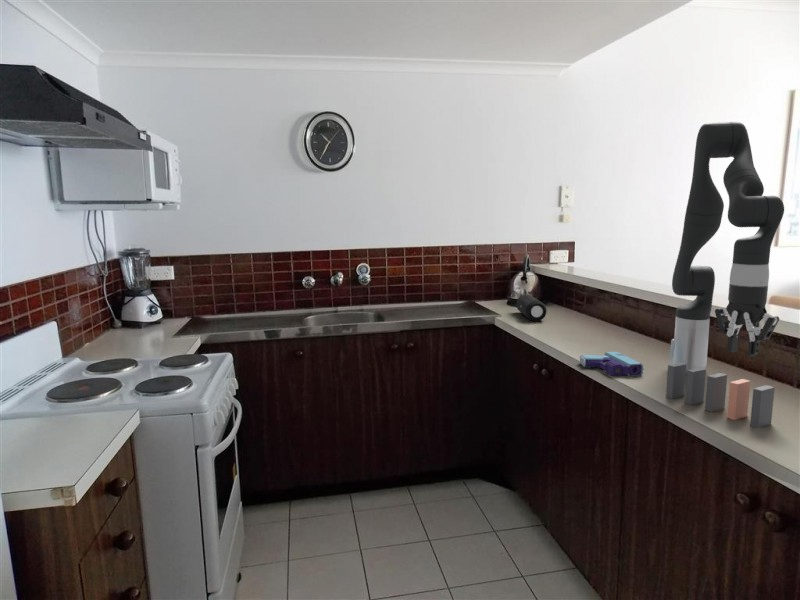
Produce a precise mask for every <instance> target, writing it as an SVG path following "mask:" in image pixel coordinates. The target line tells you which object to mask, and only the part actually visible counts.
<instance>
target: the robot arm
mask: <svg viewBox="0 0 800 600" xmlns="http://www.w3.org/2000/svg"><path fill="white" fill-rule="evenodd" d="M694 149H695V150H694V158H693V159H694V160H693V169H692V177H691V185H690V188H689V189H690V190H689V195H688V200H687V206H686V210H685V213H684V214H685V215H684V221H683V228H682V235H681V242H680V246H679V250H678V255H677V259H676V262H675V266H674V270H673V274H672V279H671V281H672V282H671V289H672V291H673V293H674V294H675V295H677V296H680V297H681V296H683V297H691V296H692V297H695V298H694V299H693V300H692V301H690V302H688V303H685V304H683V305H680V306H678V307H677V308H676V310H675V322H674V323H675V324H674V325H675V326H674V337H673V338H672V339H670V340H671V341H670V352H669V353H670V354H669V365H670V364H675V363H680V362H681V363H685V364H687V365H686V375H687V370H690V369H695V368H699V367H700V368H704V369H706V370H707V359H708V349H709V347H708V346H709V335H710V320H711V319H710V318H711V312H712V308H713V307H712V306H713V297H714V293H715V292H714V290H715V285H716V284H715V282H716V275H715V270H714V268H713V267H712V266H709V265H692V264H693V261H694V260H695V257H696V256H697V254H698V252H699V251H700V250H701V249H702V248H703V247H704V246H705V245H706V244H708V242H709V241H710V240H711V239H712V238H713V237H714V236H715V235H716V234H717V232H718V231H719V229H720V227H721V223H722V219H723V212H724V209H725V204H724V200H723V197H722V196H721V194H720V192H719V190H718V188H717V186H716V184H715V183H714V181H713V179H712V176H711V173H710V163H711V162H710V161H711V159H723V158H725V159H726V158H733V159H732V161H731V162H730V163H729V164H728V166H727V167H726V168H725V170H724V173H723V181H722V182H723V186H724V188H725V190H726V193H727V195H728V209H727V219H728V222H729V223H730V224H731V225H733V226H735V227H737V228H758V230H757V231H756V233H754V234H753V235H749V236H747V237H741V238H738V239H736V240H735V241H734V245H733V251H732V252H733V253H732V254H733V255H732V263H731V268H730V273H729V283H728V284H729V286H728V297H727V300H728V304H727V305H726V307H719V308H715V309H714V314H715V318H716V321H717V325H718V330H719V332H720V333H722V334H725V335H726V336H727V345H726V347H727V350H728V352H729V353H735V352H737V351H738V343H739V336H738V334H739V332H740V329H741V328H742V327H743V326H745V327H746V331H747V332H748V337H749V341H748V348H747V356H748V357H751V358H752V357H756V355H758V354H759V353H760V345H761V343H760V342H761V341H765V340H769V339H771V336H772V334H773V332H774V330H776V329H775V328H776V326H777V325H778V323H779V322H780V317H779V316H777V315H775V316H773V315H771V314H770V313H768V311H767V309H766V305H767V301H768V290H769V283H770V282H769V281H770V267H769V265H770V256H771V247H772V243H773V241H774V238H775V236H776V232H777V231H778V228H779V227H780V224H781V222H782V220H783V217H784V213H785V204H784V202H783V200H782V199H781V198H780V197H779V196H776V195H764V192H765V191H764V190H765V188H764V185H763V182H762V180H761V178H760V176H759V173H758V172H757V170H756V167H755V165H754V160H753V159H754V158H753V154H752V147H751V143H750V138H749V133H748V129H747V128H746V125H745V124H744V123H742V122H741V121H724V122H723V121H722V122H718V121H717V122H706V123H703V124H702V125H701V126H700V128H699V129H698V132H697V137H696V141H695V148H694ZM728 315H729V318H730V321H729V318H728ZM763 319H764V320H763ZM762 320H763V323H764V324H763V327H761V326H762V325H761V321H762Z"/></svg>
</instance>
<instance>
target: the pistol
mask: <svg viewBox="0 0 800 600" xmlns="http://www.w3.org/2000/svg"><path fill="white" fill-rule="evenodd" d="M579 364H581V366H583V368H591V367H599V368H598V369H600V368H601V369H603V371H604V372H605V373H606V372H607V373H606V374H608V375H610V376H612V377H621V376H624V375H625V376H627V377H630V376H633V377H635V376H636V377H637V376H643V375H644V365H643V364H642V363H641V362H639V361H637V360H635V359H633V358H631V357H629V356H627V355H624V354H623V353H620V352H619V351H616V350H615V351H606V352H604V355H599V354H588V355H587V354H585V355H580V356H579Z"/></svg>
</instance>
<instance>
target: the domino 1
mask: <svg viewBox="0 0 800 600" xmlns="http://www.w3.org/2000/svg"><path fill="white" fill-rule="evenodd" d="M686 365H687V364H685V363H681V362H680V363H675V364H670V363H669V364H668V365H667V374H666V375H667V376H666V391H665V393H666V394H665V397H666V398H668V399H671V400H673V399H676V398H680V397H683V396H684V397H685V392H686V378H687V374H686Z"/></svg>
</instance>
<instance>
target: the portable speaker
mask: <svg viewBox="0 0 800 600" xmlns="http://www.w3.org/2000/svg"><path fill="white" fill-rule="evenodd" d="M515 303H516V304H515V305H516V308H517V310H518V311H519V312H520V313H521V314H523V316H525V317H526V318H528V319H529V320H530V321H531V322H540V321H541V320H542V321H543V319H544V318H545V317H546V316H547V311H548V310H547V306H546V304H545V303H544V302H542V301H540V300H539V299H537V298H536V297H534V296H533V295H531V294H528V293H526V294H522V295H520V296H519V297H518V298H517V300H516V302H515Z"/></svg>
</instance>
